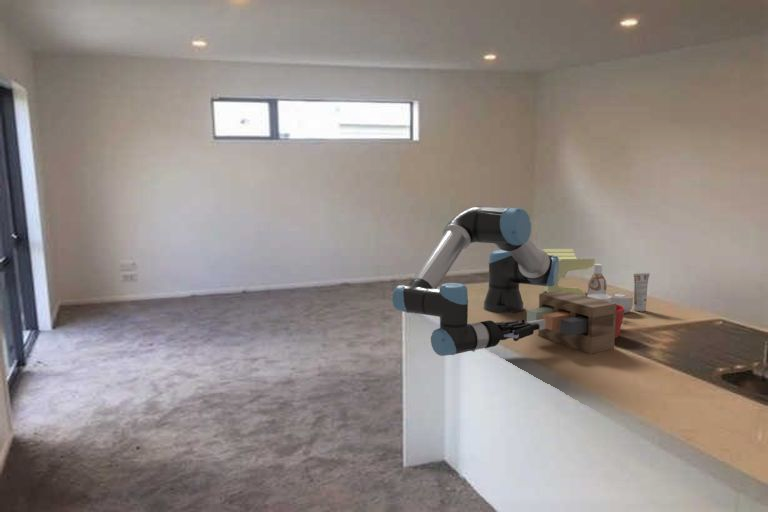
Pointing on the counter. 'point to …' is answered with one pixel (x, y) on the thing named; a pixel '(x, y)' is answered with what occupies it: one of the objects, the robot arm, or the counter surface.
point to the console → (578, 305)
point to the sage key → (538, 313)
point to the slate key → (574, 325)
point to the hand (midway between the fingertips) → (543, 323)
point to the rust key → (555, 319)
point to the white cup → (600, 297)
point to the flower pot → (618, 319)
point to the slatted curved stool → (567, 268)
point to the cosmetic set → (626, 300)
